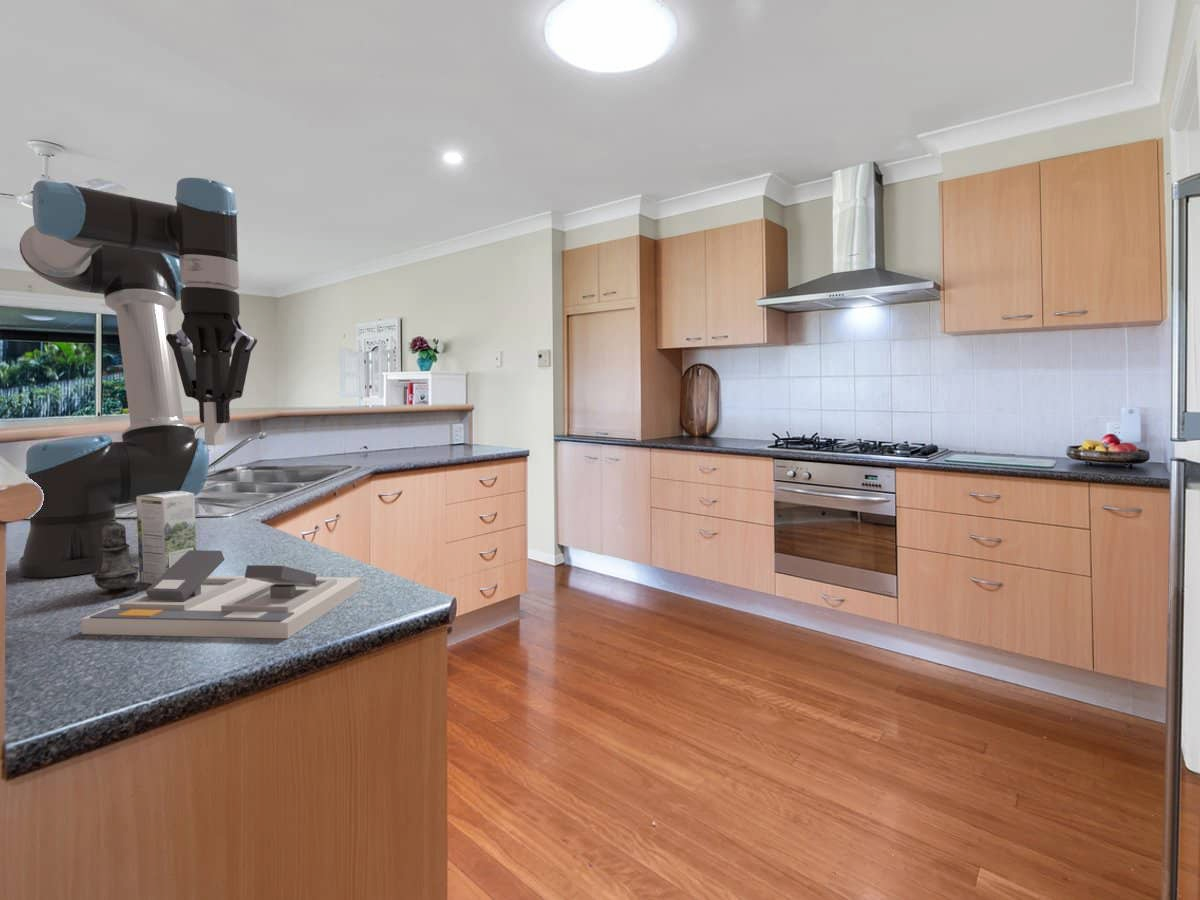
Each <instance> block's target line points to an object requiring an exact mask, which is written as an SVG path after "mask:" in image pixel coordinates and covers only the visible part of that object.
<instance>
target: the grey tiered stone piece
mask: <svg viewBox="0 0 1200 900" xmlns="http://www.w3.org/2000/svg"><path fill="white" fill-rule="evenodd" d="M115 518H116V517H115ZM115 518H114V517H112V518H111V523H109V524H107V525H105V526H104V527H103V528H102V541H103V547H101V548H100V550H102V552H103V564H102V568H101V569H100V570H99V571H96V572H92V573H91V577H92V578H94V582H95V584H96V586H97V587H99V588H100V589H102V590H104V591H101V592H99V593H98V594H97V595H96V596H95V600H98V599H100V601H109V600H110V601H111V600H118V599H123V598H129V597H131V596H134V595H136V594H138V593H140V590H139V589H138V588H136V587H132V585H133V584H134V583H135V582H136V581H137V579H138V576H139V574H138V572H139V570H140V568H139V566H133V565H132V564H130V561H128V554H127V548H128V547H130V544H127V533H126V526H125V525H124V524H122V523H121V522H117V519H115ZM115 520H116V522H115Z"/></svg>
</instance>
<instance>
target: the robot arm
mask: <svg viewBox="0 0 1200 900" xmlns="http://www.w3.org/2000/svg"><path fill="white" fill-rule="evenodd" d="M32 191H33V192H32V215H33V224H34V225H32V226H30V227H28V228H27V229H26V230H24V231H25V232H23V234H22V236H21V238H20V242H19V253H20V255H21V257H22V259H23V261H24V263H25V264H26V265H27V266H28V268H30V269H31V270H32V271H33V272H34V273H35V274H37V275H38V276H39V277H41V278H43V279H44V280H46V281H49V282H50V283H52V284H55V285H57V286H60V287H63V288H66V289H69V290H72V291H76V292H77V291H78V292H81V293H82V292H84V293H91V294H100V295H104V303H105V305H106V306H107V307H108V308H110V309H111V310H113V311H114V312H115V313H116V320H117V328H118V337H119V343H120V352H121V359H122V360H121V361H122V368H123V369H122V370H123V377H124V384H125V385H124V386H125V391H126V398H127V400H126V401H127V407H128V414H129V415H128V417H129V422H130V425H129V427H127V428H126V429H125V430H124V431H123V432H122V433H121V438H122V441H113V438H111V435H109V434H97V435H85V436H76V437H75V436H74V437H69V438H62V439H54V440H48V441H42V442H39V443H36V444H32V445H31V446H30V447H29V448H28V449H27V451H26V454H25V458H26V459H25V461H26V463H25V465H26V467H25V469H24V473H25V474H24V475H27V476H28V477H29V478H30V479H32V480H33V481H34V482H36V483H37V484H38V485H39V486H40V487H41V489H42V490H43V493H44V501H43V505H42V507H41V509H40V510H39V511H38V512H37V513H36V514H35V515H34V516H33V517H31V518H30V517H29V524H30V526H29V533H28V535H27V538H26V543H25V546H24V551H23V556H21V557H20V559H19V561H18V571H19V575H20V574H21V575H23V576H22V577H24V576H26V578H33V579H34V578H36V579H38V578H39V579H40V578H41V579H42V578H58V577H59V578H60V577H69V576H75V575H76V576H77V575H83V574H90V573H91V574H92V573H95V572H97V571H99V570H100V569H101V568H102V564H103V552H102V550H100V548H101V547H103V541H102V528H103V527H104V526H105V525H107V524H109V523H111V518H112V517H114V518H115V519H116V518H117V517H116V506H117V505H129V504H137V503H136V497H137V496H141V495H148V494H155V493H162V492H170V491H183V492H189V493H193V494H194V497H195V496H197V495H199V494H200V493H202V491H203V490H204V488H205V485H206V482H207V478H208V474H209V467H210V465H209V464H210V451H209V450H210V449H209V446H220V445H226V444H227V431H226V430H227V429H226V426H227V425H226V424H229V423H230V422H231V421H230V420H231V418H230V417H231V416H230V415H231V414H230V411H231V410H230V404H231V401H233V400H236V399H240V398H243V397H242V396H243V393H244V389H245V388H244V387H245V383H246V377H247V373H248V369H249V368H248V367H249V365H250V364H249V363H250V359H251V353H252V351H253V349H255V346H256V345H257V343H258V339H257V337H256V336H250V335H248V334H247V333H246V332H244V331H243V330H242V326H241V323H240V322H239V316H240V315H241V314H240V312H241V311H240V294H238V292H236V291H235V290H238V289H239V288H240V280H239V279H240V278H239V259H238V254H239V253H238V251H239V249H238V214H239V212H238V210H237V203H236V194H235V191H234V189H232V188H231V187H230V186H229V185H227V184H225V183H222V182H220V181H216V180H212V179H208V178H202V177H201V178H200V177H184V178H181V179H179V180H178V181H177V183H176V191H175V192H176V193H175V194H176V195H175V197H174V199H175V201H176V205H174V204H170V203H169V204H168V203H165V202H164V203H163V202H159V201H154V200H147V199H143V198H139V197H132V196H128V195H127V196H126V195H123V194H122V195H121V194H117V193H112V192H109V191H108V192H107V191H104V190H98V189H92V188H89V187H88V188H87V187H82V186H78V185H74V184H71V183H70V182H69V183H68V182H57V181H50V180H39V181H36V182H35V183H34V185H33V189H32ZM179 301H180V309H181V313H183V321H182V322H181V328H180V329H179V330H178V331H177V332H175V333H172V328H171V320H170V312H172V311H173V310H174V309H175V308H176V305H177V302H179ZM190 344H191V345H192V346H191V345H190ZM233 344H235V345H234V348H233V349H232V346H233ZM232 350H233V351H232ZM230 359H231V360H230ZM177 369H178V371H177ZM178 372H179V376H180V380H181V384H182V386H183V392H184V394H185V396H186V397H187V398H192V399H194V400H196V401H197V402H198V407H199V409H198V410H199V421H200V423H203V425H204V426H203V427H204V438H201V437H197V438H196V434H195V428H194V427H193V426H191V425H190V424H188V423H186V422H185V421H184V412H183V406H182V398H181V392H180V385H179V379H178V378H179V377H178ZM27 476H26V477H27ZM115 522H117V519H116V520H115ZM129 547H130V546H129ZM129 547H128V548H127V554H128V561H129V562H130V560H131V558H130V557H131V555H130V548H129ZM21 575H20V576H21Z"/></svg>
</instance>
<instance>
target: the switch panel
mask: <svg viewBox="0 0 1200 900" xmlns="http://www.w3.org/2000/svg"><path fill="white" fill-rule="evenodd" d="M361 579H362V577H334V576H332V577H331V576H330V577H329V576H328V577H327V576H324V577H322V576H316V581H315V585H289V584H275V583H270V582H265V581H260V580H255V579H250V578H245V575H211V574H210V575H209V576H208V577H207V578H206V579H205V580H204V581H203V582H202V583H201V585H200V586H199V587H198V588H197V589H196V590H195V591H194V592H193V593H192V594H191V595H190V596H189V597H188V598H187V599H186V600H185V601H178V600H150V599H149V597H148V595H147V593H146V592H145V593H144V594H141V595H138V596H136V597H133V598H131V599H128V600H126V601H123V602H120V603H118V604H116V605H113V606H110V607H107V608H106V609H102V610H101V611H97V612H95V613H92V614H90V615H87V616H84V617H81V634H82V635H111V636H114V635H117V636H153V637H154V636H156V637H157V636H161V637H163V636H165V637H201V638H202V637H204V638H207V637H209V638H210V637H211V638H241V639H242V638H243V639H245V638H247V639H249V638H250V639H251V638H252V639H253V638H254V639H257V638H258V639H289V638H291V637H293V636H294V635H296V634H297V633H299V632H300V631H302V630H303V629H305V628H306V627H308V626H309V625H311V624H313V623H314V622H315V621H317V620H318V619H320V618H321V617H323V616H324V615H327V614H329V612H330V611H332V610H334V609H335V608H337V607H338V606H339V605H341V604H343V603H344V602H346V601H347V600H349V599H351V598H352V597H353V596H355V595H356V594H358V593H359V592H361V590H362V584H361V583H362V582H361V581H362V580H361Z"/></svg>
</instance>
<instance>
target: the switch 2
mask: <svg viewBox="0 0 1200 900" xmlns="http://www.w3.org/2000/svg"><path fill="white" fill-rule="evenodd" d="M244 576H245V578H250V579H255V580H260V581H265V582H270V583H275V584H289V585H315V581H316V577H317V574H316V573H313V572H309V571H305V570H301V569H297V568H293V567H288V566H285V565H279V564H278V565H274V564H273V565H271V564H270V565H269V564H256V565H252V564H251V565H249V564H247V565H246V569H245V575H244Z"/></svg>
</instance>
